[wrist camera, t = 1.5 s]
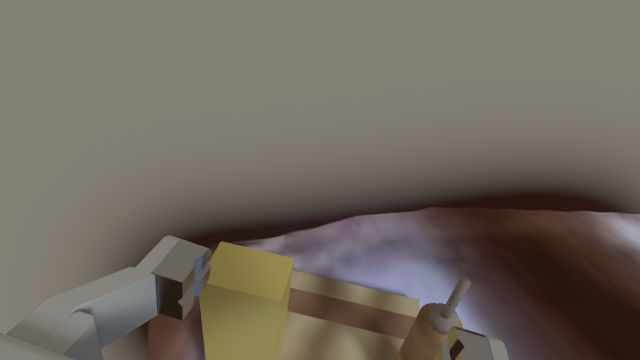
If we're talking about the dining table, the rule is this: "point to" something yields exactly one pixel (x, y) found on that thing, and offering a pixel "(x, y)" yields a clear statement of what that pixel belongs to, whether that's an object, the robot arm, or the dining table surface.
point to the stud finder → (245, 303)
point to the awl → (432, 326)
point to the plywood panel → (344, 321)
